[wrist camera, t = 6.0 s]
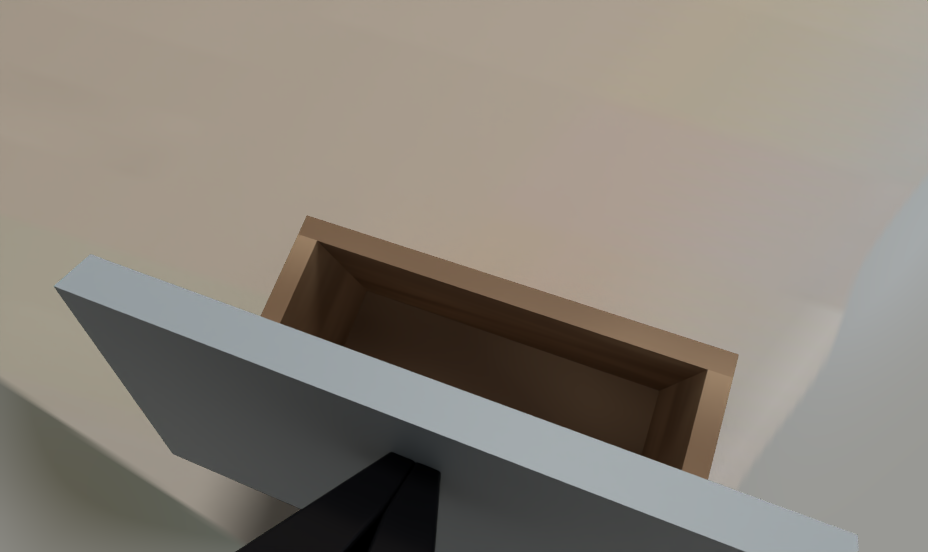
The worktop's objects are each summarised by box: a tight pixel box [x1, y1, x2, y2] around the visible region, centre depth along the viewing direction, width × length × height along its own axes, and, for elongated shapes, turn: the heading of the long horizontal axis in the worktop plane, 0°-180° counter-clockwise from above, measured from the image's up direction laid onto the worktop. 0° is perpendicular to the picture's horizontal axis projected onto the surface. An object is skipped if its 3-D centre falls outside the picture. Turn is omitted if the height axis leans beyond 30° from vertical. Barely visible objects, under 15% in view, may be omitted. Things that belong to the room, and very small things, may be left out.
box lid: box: [54, 254, 859, 552], centre depth 11 cm, size 6×13×1 cm
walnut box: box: [261, 216, 738, 480], centre depth 18 cm, size 6×12×6 cm, turn 70°
